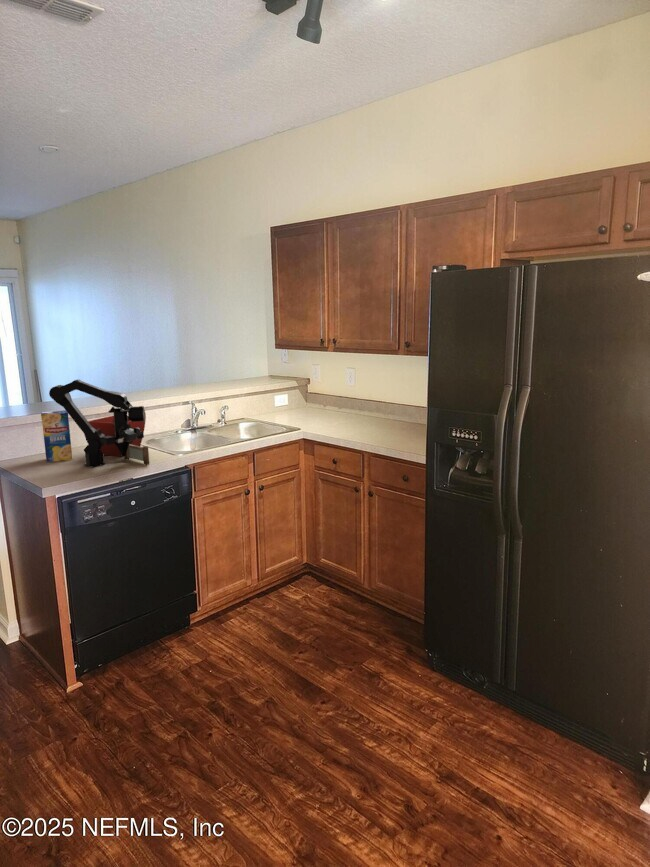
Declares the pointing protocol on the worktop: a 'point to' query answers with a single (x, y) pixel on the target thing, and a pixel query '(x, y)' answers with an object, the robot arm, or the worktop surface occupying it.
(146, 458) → the gate frame
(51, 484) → the worktop surface
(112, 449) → the plant pot
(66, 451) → the blue cardboard box
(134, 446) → the panel
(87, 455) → the robot arm
